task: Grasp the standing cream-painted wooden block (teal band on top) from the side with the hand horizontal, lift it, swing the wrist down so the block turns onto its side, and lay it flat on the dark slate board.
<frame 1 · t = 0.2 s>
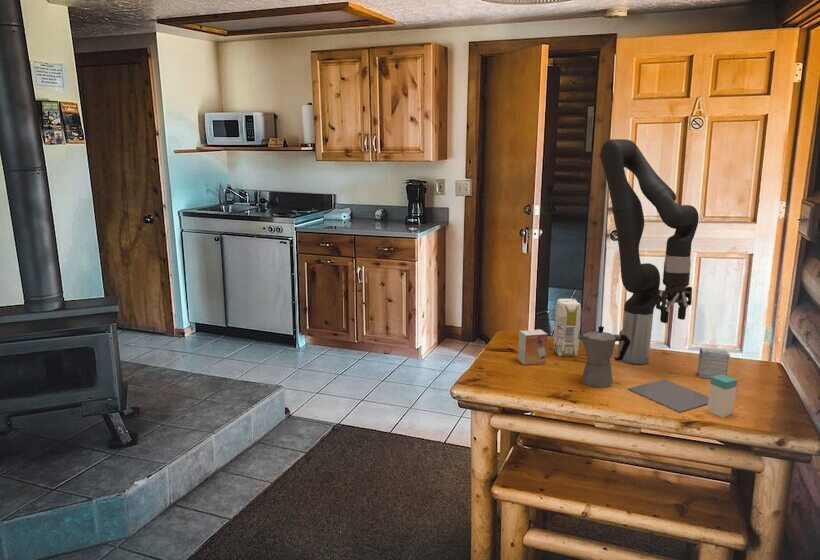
hand: (672, 320, 189), 18 cm above the table, tool pointing down, fingers open, 8 cm apart
board: (671, 395, 176), on the table
small box: (531, 362, 203), on the table
block: (719, 412, 165), on the table
medicine box: (711, 377, 191), on the table
juice carton: (565, 353, 211), on the table
coffeepot: (600, 383, 185), on the table
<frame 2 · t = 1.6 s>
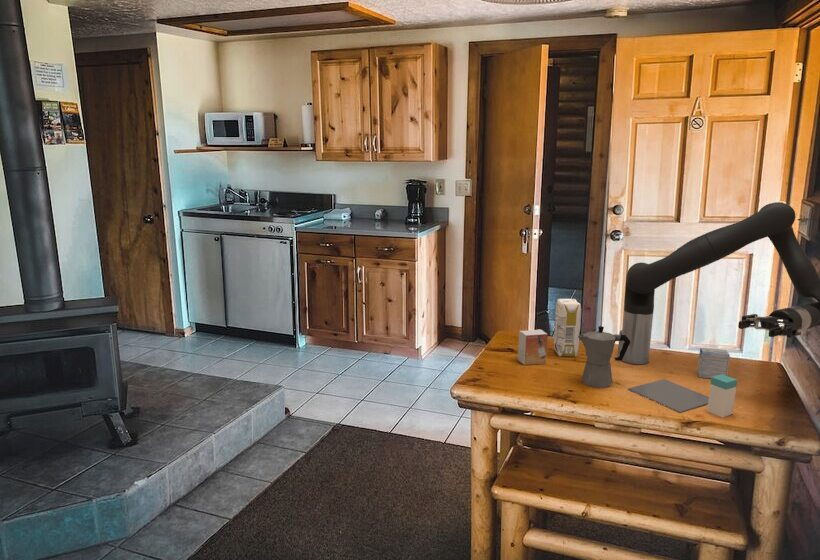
hand: (754, 329, 165), 22 cm above the table, tool horizontal, fingers open, 8 cm apart
nothing on the table moved.
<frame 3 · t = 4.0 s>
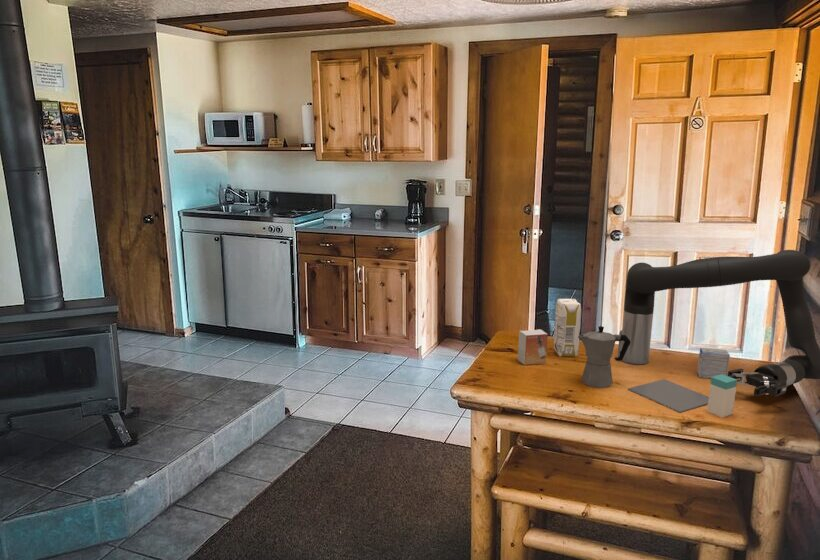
hand: (740, 386, 167), 6 cm above the table, tool horizontal, fingers open, 8 cm apart
nothing on the table moved.
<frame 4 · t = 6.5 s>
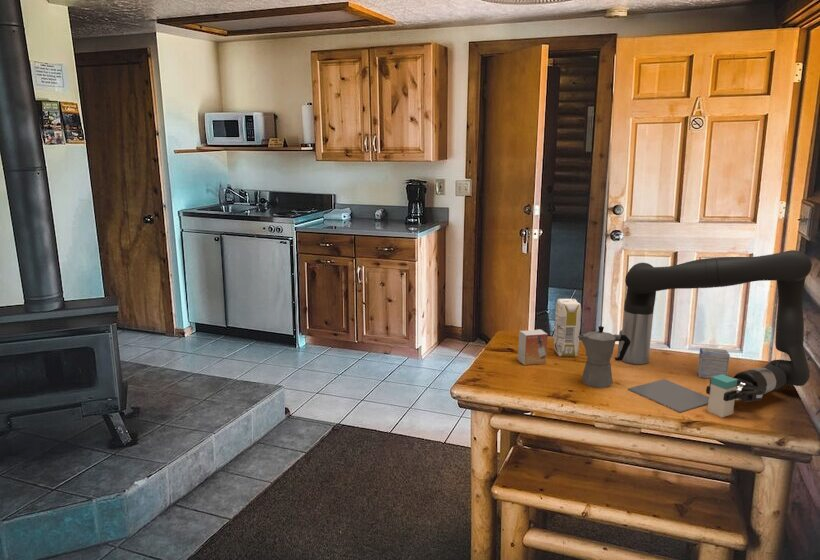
hand: (716, 393, 162), 6 cm above the table, tool horizontal, fingers closed on block, 4 cm apart
block: (719, 412, 165), on the table, touching gripper
everything else where it was.
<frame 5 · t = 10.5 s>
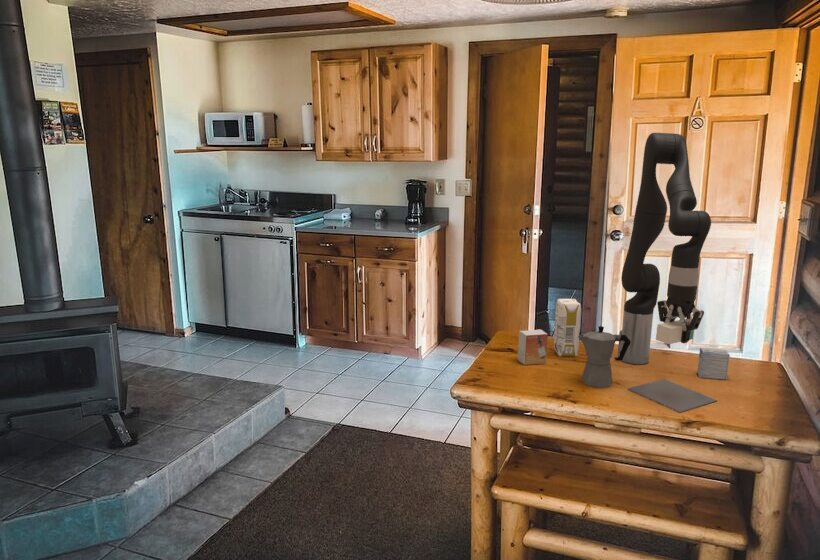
hand: (676, 339, 172), 17 cm above the table, tool pointing down, fingers closed on block, 4 cm apart
block: (663, 334, 169), point 20 cm above the table, tilted 90°, touching gripper
everything else where it was.
when the fingers open (2 cm above the table, at t = 13.8 s): block drops 2 cm, resting on board.
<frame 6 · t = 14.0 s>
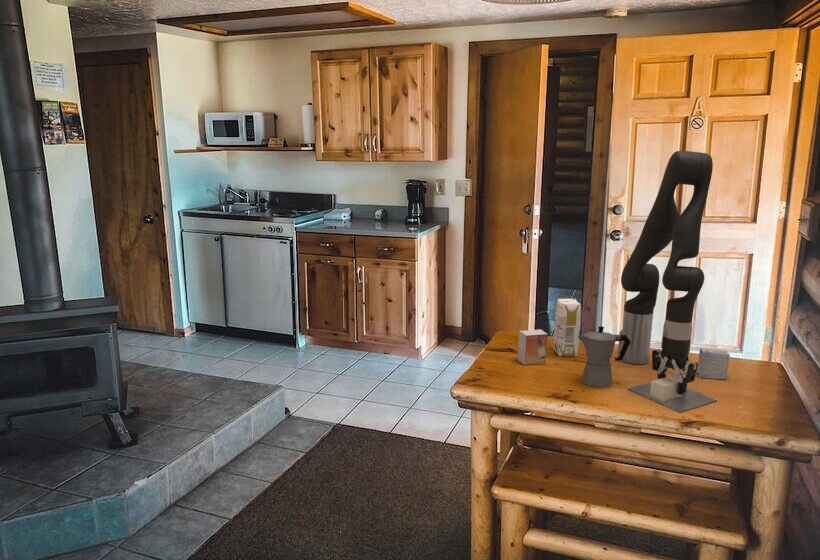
hand: (670, 389, 175), 2 cm above the table, tool pointing down, fingers open, 6 cm apart
block: (657, 391, 172), point 3 cm above the table, tilted 90°, touching board
everything else where it was.
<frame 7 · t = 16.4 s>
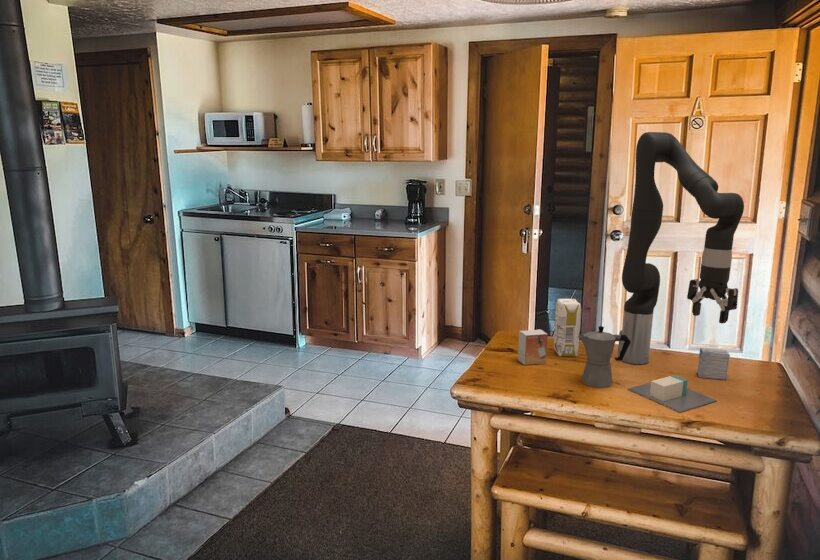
hand: (709, 319, 174), 23 cm above the table, tool pointing down, fingers open, 8 cm apart
nothing on the table moved.
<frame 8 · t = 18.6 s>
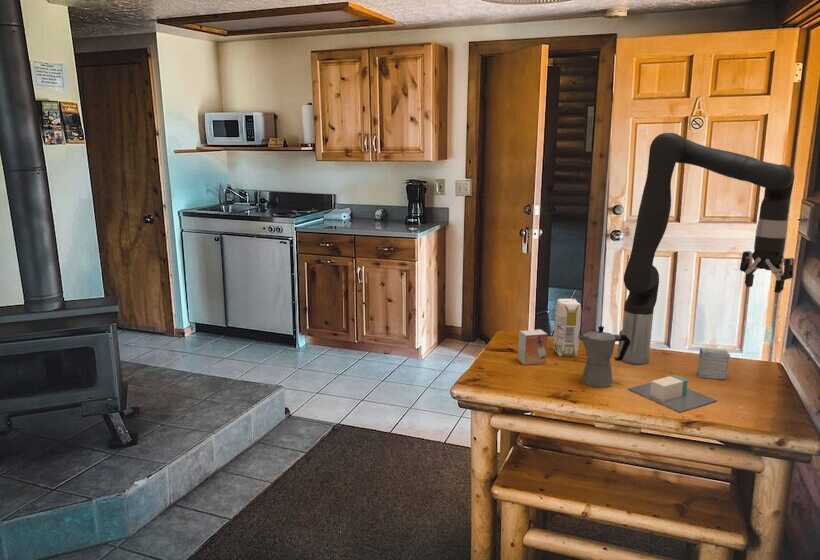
hand: (763, 289, 177), 30 cm above the table, tool pointing down, fingers open, 8 cm apart
nothing on the table moved.
at the end: block tilted 90°; block inside the target area on the board (6.5 cm from its centre), point 2.6 cm above the board's base; the gripper is holding nothing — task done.
